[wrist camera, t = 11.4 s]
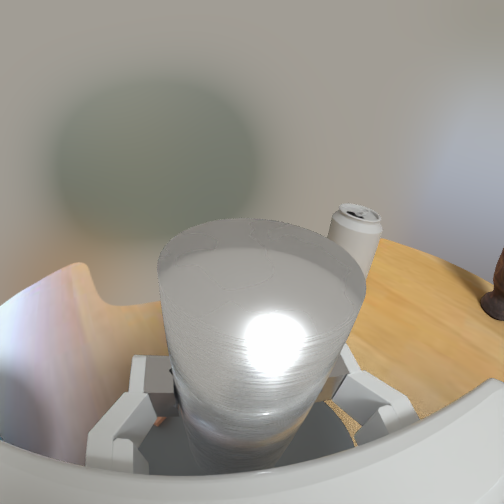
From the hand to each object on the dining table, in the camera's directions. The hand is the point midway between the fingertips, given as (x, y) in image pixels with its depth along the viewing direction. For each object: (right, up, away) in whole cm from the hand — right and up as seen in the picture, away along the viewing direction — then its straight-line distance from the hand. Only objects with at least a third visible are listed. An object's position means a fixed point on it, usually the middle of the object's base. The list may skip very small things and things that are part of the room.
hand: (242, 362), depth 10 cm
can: (+14, -1, +32) cm, 35 cm away
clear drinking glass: (-1, -6, +3) cm, 7 cm away
